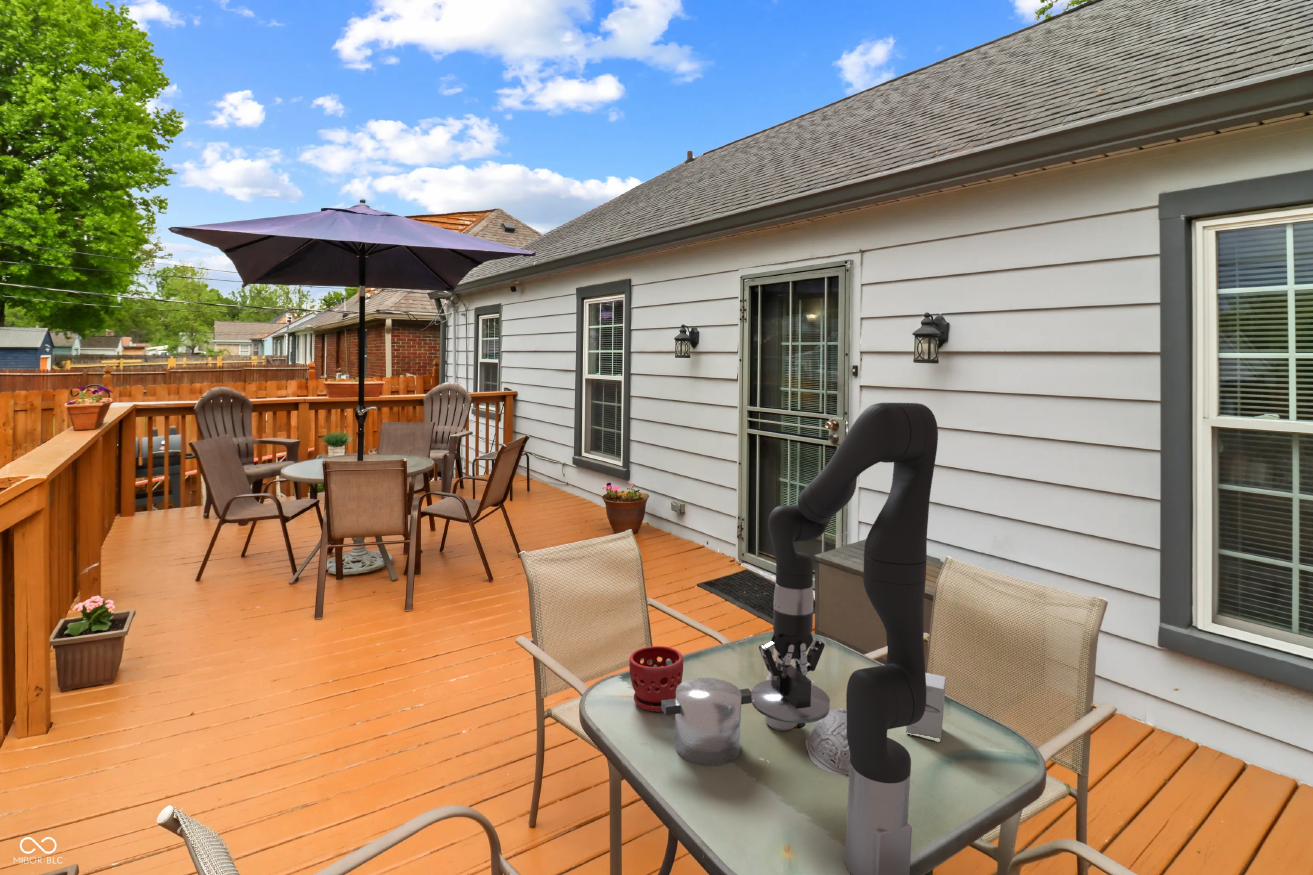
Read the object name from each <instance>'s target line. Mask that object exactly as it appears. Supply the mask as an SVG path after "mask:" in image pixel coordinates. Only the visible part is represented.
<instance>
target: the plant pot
mask: <svg viewBox="0 0 1313 875" xmlns="http://www.w3.org/2000/svg"><path fill="white" fill-rule="evenodd" d="M658 658H661V661H659V660H658ZM642 659H643V662H641V661H642ZM668 659H669V660H670V661H671V664H669V665H668V663H667V661H668ZM649 660H651V663H650V664H649V663H648V662H649ZM628 661H629V663H628V664H629V676H630V682H631V685H632V688H633V691H634V693H633V700H634V703H635V704H636V705H637V706H638V707H639V708H641V709H643V710H645V711H650V712H654V711H655V712H654V713H657V712H658V713H659V712H663V711H662V709H661V700H668V699H675V698H676V688H677V687H678V685H680V684H681V683H682V682H683V681H682V680H683V674H684V657H683V654H682V653H681V652H680V651H679V650H677V649H676V648H672V647H669V646H662V645H661V646H660V645H654V646H653V645H652V646H645V647H641V648H639V649H637V650H634V651H633V652H632V653H631V654H630V656H629V660H628ZM654 666H655V667H654Z"/></svg>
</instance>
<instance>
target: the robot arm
mask: <svg viewBox="0 0 1313 875" xmlns="http://www.w3.org/2000/svg"><path fill="white" fill-rule="evenodd" d="M938 430H939V429H938V423H937V420H936V417H935V415H934V413H933V411H932V409H930V408H929V407H928V406H926V405H925V404H922V403H918V402H878V403H874V404H870V405H869V406H868V407H866V408H865V409H864V410H863V411H862V412H861V413H860V415H858V416H857V418H856V420H855V421H854V423H853V424H852V426H851V427H850V429H849V430H848V432H847V433H846V435H845V437H844V438H843V439H842V441H841V443H840V444H839V445H838V448H837V449H836V450H835V452H834V454H833V456H832V457H831V459H830V460H829V461H828V463H827V464H826V466H825V467H824V468H823V469H822V470H821V471H820V472H819V474H818V475H817V476H816V477H814V478H813V479H812V481H810V483H809V484H808V485H806V486H805V487H804V488H803V489H802V491H801V492H800V494H799V496H798V498H797V504H790V505H789V504H787V505H778V506H776V507H774V509H772V511H771V512H770V514H769V517H768V522H767V526H768V527H767V528H768V533H769V535H770V536H769V537H770V540H771V544H772V549H773V554H774V558H775V563H776V564H775V565H776V566H775V586H774V591H773V602H772V603H773V604H772V605H773V613H772V614H773V615H772V616H773V618H772V627H773V635H772V637H771V640H770V642H768V643H766V644H765V645H764V644H762V643H760V645H759V646H758V649H759V652H760V655H761V657H762V660H763V661H764V665H765V667H766V670H767V671H768V673H769V672H770V673H772V674H773V675H774V676H776V689H777V691H778V692H779V693H780V694H781V695H782V696H786V693H787V678H786V676H787V671H788V667H789V666H790V664H791V663H792V660H793V661H794V667H795V668H796V669H797V670H798V671H799V672H801V673H802V674H803V675H804V676H806V675H807V674H808V673H809V672H814V671H815V670H816V669H817V668H816V667H817V665H818V663H819V661H820V659H821V656H822V654H823V651H824V649H825V643H824V642H823V640H820V639H819V638H816V637H814V636H813V635H812V632H813V628H814V626H813V625H814V624H813V622H814V621H813V620H814V591H813V590H814V589H813V584H814V582H813V581H814V561H813V558H812V557H811V555H810V554H808V553H804V552H802V551H796V549H795V546H794V543H795V542H796V543H797V542H809V541H813V540H816V539H818V538H819V537H821V536H823V534H824V533H825V531H826V529H827V528H828V525H829V524H830V521H831V519H832V518H833V517H834V516H836V514H837V513H838V512H840V511H841V510H842V509H843V508H844V507H845V506H847V504H848V503H849V502H850V501H851V500H852V498H853V496H854V494H855V492H856V489H857V483H858V482H857V480H858V479H857V478H858V477H859V476H860V475H861V474H862V473H863V472H865V471H866V470H867V469H869V468H871V467H873V466H874V465H877V464H878V463H893V468H892V469H893V470H892V471H893V472H892V481H891V487H890V490H889V494H888V497H887V499H886V500H885V501H886V502H885V503H884V505H883V506H882V509H881V510H880V512H879V514H878V515H877V517H876V518H875V521H874V522H873V524H872V526H871V528H870V530H869V531H868V534H867V535H866V536H867V537H866V539H865V541H864V550H863V574H862V575H863V577H862V580H863V587H864V590H865V593H866V595H867V597H868V599H869V601H870V603H871V605H872V606H873V609H874V610H875V612H876V614H877V615H878V617H879V619H880V621H881V622H882V624H883V627H884V630H885V633H886V640H887V641H886V642H887V654H886V655H887V656H886V662H885V664H884V665H878V666H872V667H866V668H859V669H856V670H854V671H853V672H852V673H851V674H850V676H849V679H848V681H847V686H846V695H845V696H846V700H845V701H846V703H845V704H846V706H845V707H846V710H847V741H848V746H849V751H850V764H849V775H848V784H847V785H848V786H847V805H846V806H847V808H846V829H845V830H846V832H845V835H846V836H845V857H844V862H845V863H844V864H845V866H846V868H847V870H848V871H849V873H850V874H851V875H910V871H911V870H910V869H911V853H912V852H911V850H912V835H913V834H912V832H913V830H912V829H913V827H912V826H911V824H909V822H908V821H909V807H910V805H909V804H910V789H911V773H912V772H911V771H912V770H911V769H912V758H911V755H910V753H909V751H908V750H907V748H906V747H905V746H903V745H902V744H901V743H900V742H898V741H896V740H894V739H893V738H890V737H888V730H892V729H897V728H898V729H899V728H902V727H907V726H908V725H912V724H915V723H917V722H918V721H920V719H921V718H922V717H923V715H924V712H925V708H926V674H925V673H926V662H925V660H926V659H925V646H924V645H925V644H924V643H925V642H924V641H925V640H924V635H925V634H924V629H925V628H924V626H925V625H924V617H925V593H926V592H925V591H926V583H927V582H926V581H927V580H926V578H927V564H928V563H927V562H928V561H927V557H928V556H927V554H928V553H927V552H928V551H927V550H928V548H927V544H928V543H927V541H928V538H927V537H928V525H929V511H930V498H931V492H932V490H931V489H932V484H933V478H934V471H935V464H936V458H937V451H938V445H939V444H938V443H939V442H938V441H939V431H938ZM774 650H775V651H776V655H775V654H774ZM807 651H808V652H807ZM774 655H775V659H774V658H773V656H774ZM774 661H777V663H776V664H775V662H774ZM806 677H807V676H806Z"/></svg>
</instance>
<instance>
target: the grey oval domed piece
mask: <svg viewBox="0 0 1313 875" xmlns="http://www.w3.org/2000/svg"><path fill="white" fill-rule="evenodd" d="M805 745H806V746H805V747H806V750H807V751H808V757H809V759H810V760H811V762H813V763H814V764H815V765H816V766H817V767H819V768H820V769H822V770H824V771H826V772H830V773H832V774H836V775H844V776H845V775H847V776H849V764H850V751H849V746H848V741H847V708H846V709H845V708H841V707H840V708H834V709H833V708H832V709H829V713H828V715H827V716H826V717H824V718H823V719H821V720H819V721H815V722H813V724H812V727H811V729H810V732H809V735H808V738H807V740H806V741H805Z"/></svg>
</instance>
